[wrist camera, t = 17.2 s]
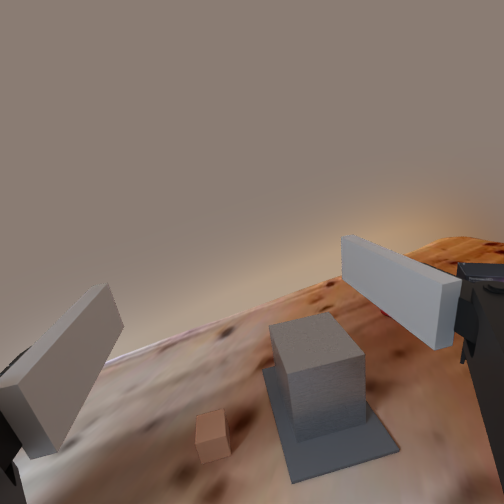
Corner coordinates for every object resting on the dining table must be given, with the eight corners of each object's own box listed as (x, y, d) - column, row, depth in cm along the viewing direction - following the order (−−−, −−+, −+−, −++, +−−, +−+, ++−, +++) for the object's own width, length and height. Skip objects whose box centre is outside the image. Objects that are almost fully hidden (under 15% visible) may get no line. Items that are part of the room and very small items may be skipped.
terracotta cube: (201, 464, 33) (195, 444, 32) (202, 435, 37) (196, 415, 36) (231, 456, 34) (225, 435, 32) (229, 427, 37) (223, 408, 36)
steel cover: (296, 443, 33) (287, 374, 29) (277, 384, 43) (268, 325, 39) (365, 423, 34) (365, 354, 30) (332, 370, 44) (328, 311, 40)
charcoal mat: (292, 484, 29) (291, 482, 29) (262, 371, 46) (262, 369, 46) (399, 451, 31) (399, 449, 31) (332, 353, 48) (332, 351, 48)
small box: (458, 320, 51) (464, 274, 48) (451, 304, 57) (456, 261, 53) (530, 328, 46) (542, 277, 43) (514, 309, 52) (524, 263, 48)
